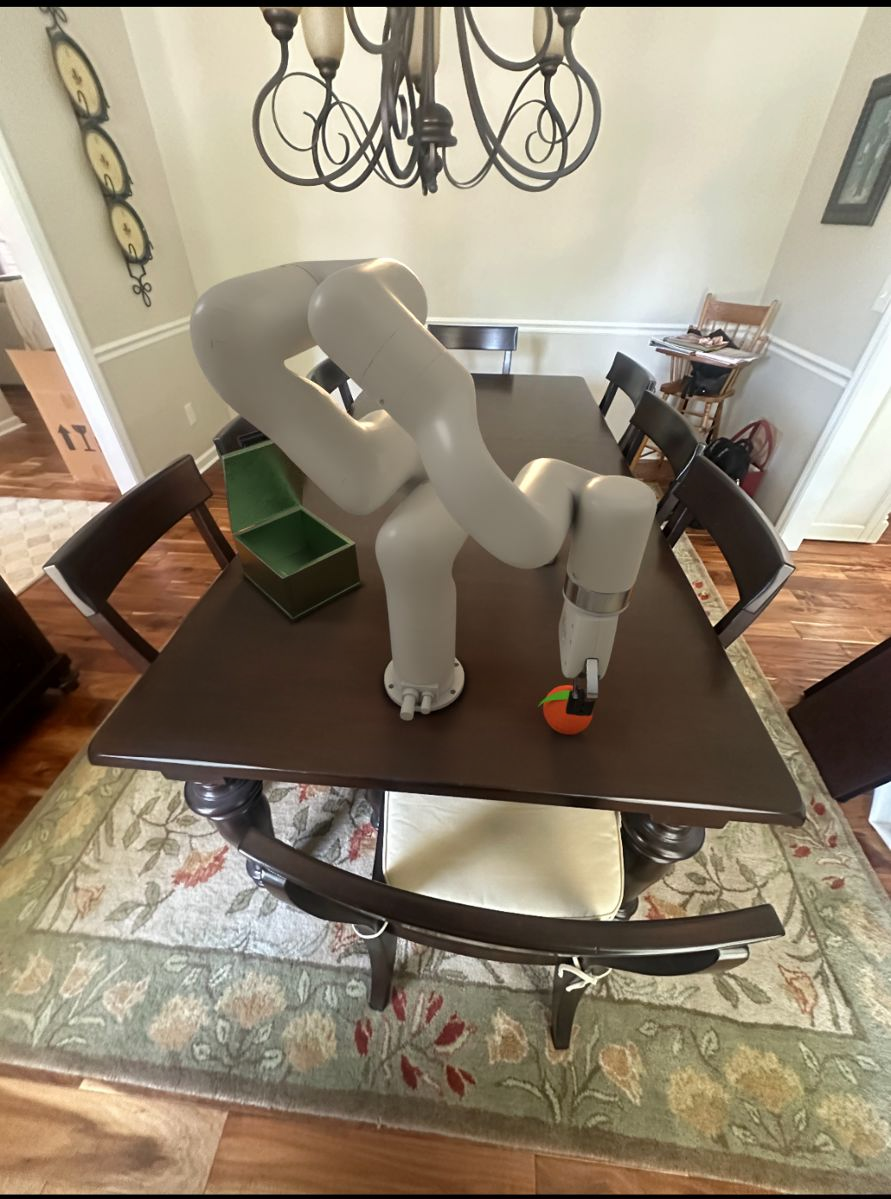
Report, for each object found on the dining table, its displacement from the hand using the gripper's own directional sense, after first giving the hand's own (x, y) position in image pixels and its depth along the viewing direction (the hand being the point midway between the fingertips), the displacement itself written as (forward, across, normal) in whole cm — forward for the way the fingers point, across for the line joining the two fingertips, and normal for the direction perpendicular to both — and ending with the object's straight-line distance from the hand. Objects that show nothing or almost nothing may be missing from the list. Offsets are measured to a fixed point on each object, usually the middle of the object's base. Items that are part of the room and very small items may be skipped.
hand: (574, 683), depth 69 cm
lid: (-11, -31, -52) cm, 62 cm away
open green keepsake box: (+8, -28, -49) cm, 57 cm away
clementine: (+10, 0, -1) cm, 10 cm away
